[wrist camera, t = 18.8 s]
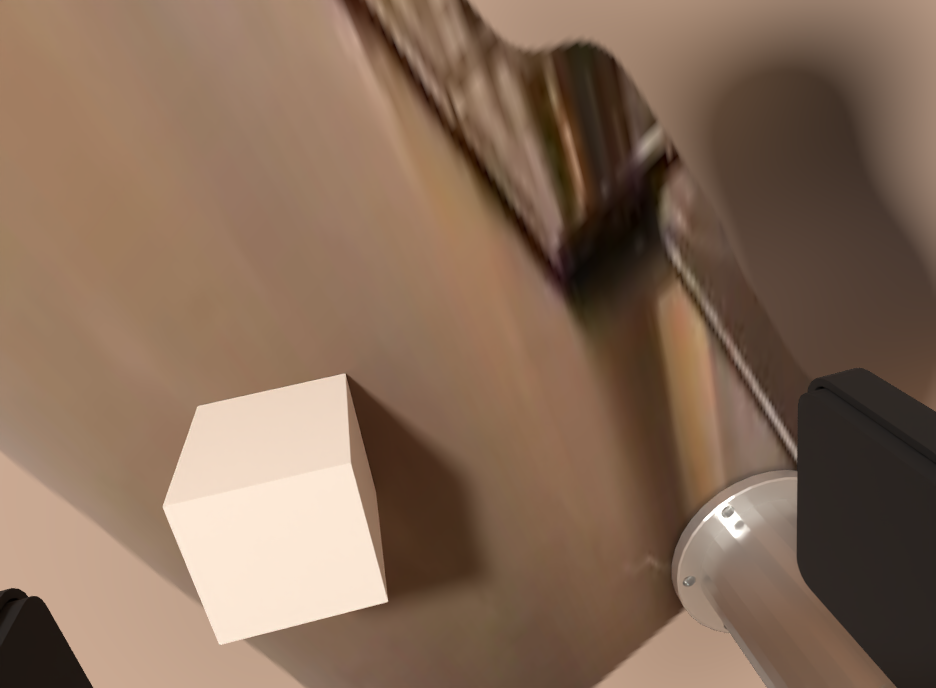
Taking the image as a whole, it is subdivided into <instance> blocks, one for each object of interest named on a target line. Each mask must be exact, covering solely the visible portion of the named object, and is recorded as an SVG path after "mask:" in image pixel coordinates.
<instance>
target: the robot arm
mask: <svg viewBox="0 0 936 688" xmlns="http://www.w3.org/2000/svg"><path fill="white" fill-rule="evenodd" d="M672 581H673V585H674V589H675V592H676V594H677V596H678V598H679V600H680V601H681V603H682V605H683V606H684V608H685V609H686V610H687V612H688V613H689V614H690V616H691V617H693V618H694V619H695V620H696V621H698V622H699V623H700V624H702V625H704V626H706V627H709V628H710V629H713V630H716V631H720V632H725V633H730V634H731V635H732V637H733V638H734V640H735V641H736V643H737V644H738V646H739V647H740V649H741V650H742V651H743V653H744V654H745V656H746V657H747V659H748V660H749V662H750V663H751V665H752V666H753V668H754V669H755V671H756V672H757V674H758V675H759V676H760V678H761V679H762V681H763V682H764V684H765V685H766V687H767V688H936V412H935V411H934V410H932V409H930V408H929V407H927V406H925V405H924V404H922V403H920V402H919V401H917V400H915V399H914V398H912V397H911V396H909V395H907V394H906V393H904V392H902V391H901V390H899V389H897V388H896V387H894V386H892V385H891V384H889V383H888V382H886V381H884V380H883V379H881V378H879V377H878V376H876V375H875V374H873V373H871V372H870V371H868V370H865V369H863V368H854V369H850V370H846V371H843V372H839V373H835V374H831V375H827V376H823V377H820V378H816V379H814V380H813V381H812V382H811V383H810V385H809V387H808V393H804V394H803V395H801V397H800V399H799V403H798V458H797V471H793V470H780V471H770V472H766V473H762V474H758V475H754V476H751V477H749V478H746V479H744V480H742V481H739V482H737V483H735V484H733V485H731V486H730V487H728V488H727V489H725V490H723V491H722V492H720V493H718V494H717V495H716V496H715V497H714V498H712V499H711V500H710V501H709V502H707V503H706V504H705V505H704V506H703V507H702V508H701V509H700V510H699V511H698V513H697V514H696V515H695V516H694V517H693V518H692V519H691V521H690V522H689V524H688V525H687V527H686V528H685V530H684V531H683V533H682V534H681V537H680V539H679V541H678V544H677V546H676V548H675V552H674V556H673V561H672ZM0 688H93V687H92V685H91V683H90V681H89V680H88V678H87V676H86V674H85V673H84V671H83V669H82V667H81V666H80V664H79V662H78V660H77V659H76V657H75V655H74V653H73V652H72V650H71V648H70V647H69V645H68V643H67V641H66V639H65V637H64V636H63V634H62V632H61V631H60V629H59V627H58V625H57V623H56V622H55V620H54V618H53V616H52V615H51V613H50V611H49V609H48V608H47V606H46V604H45V603H44V602H43V600H42V599H40V598H39V597H37V596H31V597H28V596H27V595H26V593H25V592H23V591H21V590H20V589H15V588H11V589H7V590H4V591H0Z"/></svg>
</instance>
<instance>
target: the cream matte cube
mask: <svg viewBox="0 0 936 688" xmlns="http://www.w3.org/2000/svg"><path fill="white" fill-rule="evenodd" d="M163 509H164V511H165V514H166V516H167V519H168V521H169V524H170V526H171V528H172V531H173V533H174V536H175V538H176V541H177V543H178V546H179V548H180V550H181V553H182V555H183V558H184V560H185V563H186V565H187V567H188V570H189V572H190V575H191V577H192V580H193V582H194V584H195V587H196V589H197V592H198V594H199V597H200V599H201V601H202V604H203V606H204V609H205V611H206V614H207V616H208V618H209V621H210V623H211V626H212V628H213V630H214V633H215V635H216V638H217V640H218V643H219V645H221V644H225V643H229V642H233V641H237V640H241V639H245V638H249V637H253V636H257V635H261V634H264V633H268V632H272V631H276V630H280V629H284V628H288V627H292V626H296V625H300V624H303V623H307V622H311V621H315V620H319V619H323V618H327V617H331V616H335V615H339V614H343V613H346V612H350V611H354V610H358V609H362V608H366V607H370V606H374V605H378V604H382V603H386V602H388V596H387V587H386V578H385V569H384V560H383V551H382V542H381V533H380V524H379V515H378V506H377V497H376V490H375V486H374V482H373V479H372V475H371V471H370V467H369V463H368V459H367V455H366V451H365V447H364V444H363V440H362V436H361V432H360V428H359V424H358V420H357V416H356V412H355V408H354V405H353V401H352V397H351V393H350V389H349V385H348V381H347V377H346V373H345V374H340V375H336V376H331V377H327V378H322V379H318V380H313V381H309V382H304V383H300V384H295V385H291V386H286V387H282V388H277V389H273V390H268V391H264V392H259V393H255V394H250V395H246V396H241V397H237V398H232V399H228V400H223V401H219V402H214V403H210V404H205V405H201V406H198V407H197V410H196V413H195V415H194V418H193V421H192V424H191V427H190V430H189V433H188V435H187V438H186V441H185V444H184V447H183V450H182V453H181V456H180V458H179V461H178V464H177V467H176V470H175V473H174V476H173V478H172V481H171V484H170V487H169V490H168V493H167V496H166V499H165V501H164V504H163Z"/></svg>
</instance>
